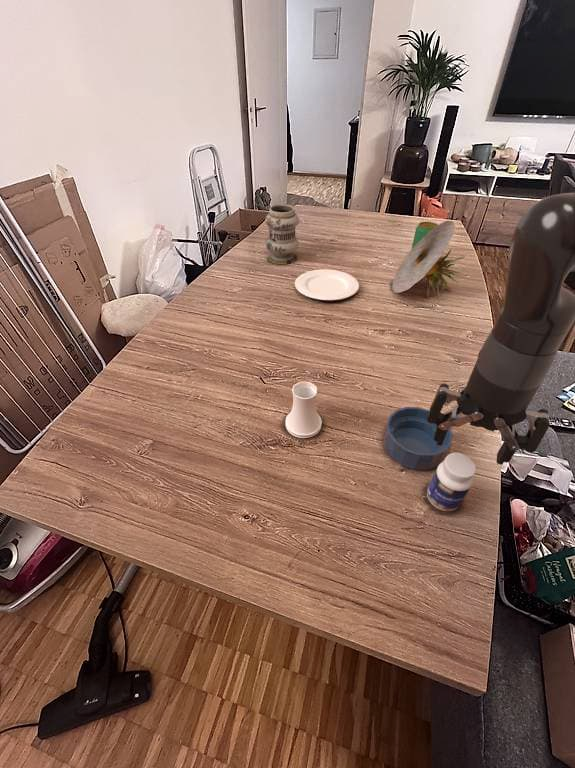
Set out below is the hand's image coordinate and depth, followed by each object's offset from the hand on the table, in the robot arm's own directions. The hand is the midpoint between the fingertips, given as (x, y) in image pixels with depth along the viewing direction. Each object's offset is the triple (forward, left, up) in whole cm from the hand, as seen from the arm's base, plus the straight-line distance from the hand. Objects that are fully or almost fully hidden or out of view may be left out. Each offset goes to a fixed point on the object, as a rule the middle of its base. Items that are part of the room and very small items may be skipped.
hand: (468, 450), depth 57 cm
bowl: (+10, -6, -13) cm, 18 cm away
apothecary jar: (+93, -46, -14) cm, 105 cm away
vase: (+29, +6, -14) cm, 33 cm away
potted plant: (+44, -63, -14) cm, 78 cm away
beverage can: (+58, -84, -14) cm, 103 cm away
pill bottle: (0, 0, -14) cm, 14 cm away
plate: (+66, -41, -14) cm, 79 cm away
